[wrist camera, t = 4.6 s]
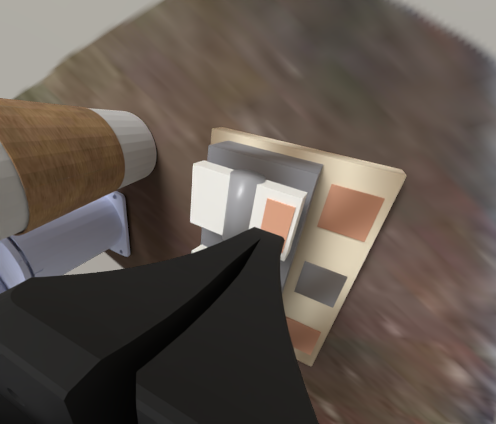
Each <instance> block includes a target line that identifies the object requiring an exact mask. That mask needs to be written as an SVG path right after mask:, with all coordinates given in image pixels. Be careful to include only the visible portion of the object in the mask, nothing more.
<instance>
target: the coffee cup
mask: <svg viewBox="0 0 496 424" xmlns="http://www.w3.org/2000/svg"><path fill="white" fill-rule="evenodd" d="M156 155H157V153H156V146H155V142H154V139H153V137H152V134H151V132H150V131H149V129H148V127H147V126H146V125H145V123H144V122H143V121H142V120H141V119H140V118H139V117H137V116H136V115H134V114H132V113H129V112H126V111H115V110H103V109H90V108H85V107H77V106H67V105H58V104H49V103H40V102H31V101H21V100H12V99H3V98H0V240H2V239H5V238H7V237H9V236H12V235H15V236H20V235H23V234H25V233H27V232H29V231H32V230H34V229H36V228H38V227H40V226H42V225H44V224H46V223H49V222H51V221H53V220H55V219H57V218H59V217H61V216H63V215H66V214H68V213H70V212H72V211H74V210H76V209H78V208H80V207H83V206H85V205H87V204H89V203H91V202H93V201H95V200H97V199H100V198H102V197H104V196H106V195H108V194H110V193H112V192H114V191H116V190H118V189H120V188H122V187H124V186H127V185H129V184H131V183H134V182H136V181H138V180H141V179H143V178H145V177H147V176H148V175H149V174H150V173H151V172H152V171H153V169H154V167H155V164H156Z"/></svg>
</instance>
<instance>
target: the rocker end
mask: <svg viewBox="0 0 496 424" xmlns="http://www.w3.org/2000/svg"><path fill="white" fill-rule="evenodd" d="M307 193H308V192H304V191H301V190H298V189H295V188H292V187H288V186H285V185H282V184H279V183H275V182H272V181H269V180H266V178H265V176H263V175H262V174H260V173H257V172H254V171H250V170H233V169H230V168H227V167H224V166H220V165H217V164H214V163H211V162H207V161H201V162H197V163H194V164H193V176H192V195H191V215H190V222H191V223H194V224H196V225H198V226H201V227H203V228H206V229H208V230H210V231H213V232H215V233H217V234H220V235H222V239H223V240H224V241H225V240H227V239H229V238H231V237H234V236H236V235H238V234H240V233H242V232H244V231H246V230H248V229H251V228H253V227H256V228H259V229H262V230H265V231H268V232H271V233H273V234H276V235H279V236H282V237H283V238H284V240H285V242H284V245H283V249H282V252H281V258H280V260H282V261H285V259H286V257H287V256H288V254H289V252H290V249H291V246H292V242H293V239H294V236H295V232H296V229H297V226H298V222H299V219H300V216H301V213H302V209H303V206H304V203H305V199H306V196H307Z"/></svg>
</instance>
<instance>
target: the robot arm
mask: <svg viewBox="0 0 496 424" xmlns="http://www.w3.org/2000/svg"><path fill="white" fill-rule="evenodd" d="M284 242H285V240H284V238H283V237H282V236H279V235H276V234H273V233H271V232H268V231H265V230H262V229H259V228H256V227H253V228H251V229H248V230H246V231H244V232H242V233H240V234H238V235H236V236H234V237H231V238H229V239H227V240H225V241H222V242H220V243H218V244H215V245H213V246H210V247H207V248H205V249H202V250H200V251H197V252H194V253H191V254H188V255H185V256H181V257H177V258H174V259H170V260H166V261H162V262H157V263H152V264H147V265H143V266H138V267H132V268H126V269H120V270H113V271H105V272H97V273H88V274H77V275H64V274H66V273H67V272H69V271H71V270H72V269H74V268H76V267H78V266H80V265H81V264H83V263H84V262H86V261H88V260H90V259H92V258H93V257H95V256H97V255H99V254H100V253H102V252H104V251H106V250H107V249H110V250H112V251H114V252H116V253H118V254H121V255H123V256H125V257H128V256H129V255H130V244H129V233H128V222H127V211H126V201H125V196H124V195H123V194H122V193H120V192H117V191H114V192H112V193H110V194H108V195H106V196H104V197H102V198H100V199H97V200H95V201H93V202H91V203H89V204H87V205H85V206H83V207H80V208H78V209H76V210H74V211H72V212H70V213H68V214H66V215H63V216H61V217H59V218H57V219H55V220H53V221H51V222H49V223H46V224H44V225H42V226H40V227H38V228H36V229H34V230H32V231H29V232H27V233H25V234H23V235H20V236H15V235H12V236H9V237H7V238H5V239H2V240H0V424H319V423H318V420H317V418H316V415H315V412H314V410H313V407H312V404H311V401H310V399H309V396H308V393H307V390H306V387H305V384H304V381H303V378H302V375H301V372H300V369H299V366H298V362H297V359H296V355H295V352H294V348H293V344H292V341H291V337H290V333H289V330H288V325H287V320H286V316H285V310H284V304H283V298H282V290H281V277H280V258H281V252H282V249H283V245H284Z"/></svg>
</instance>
